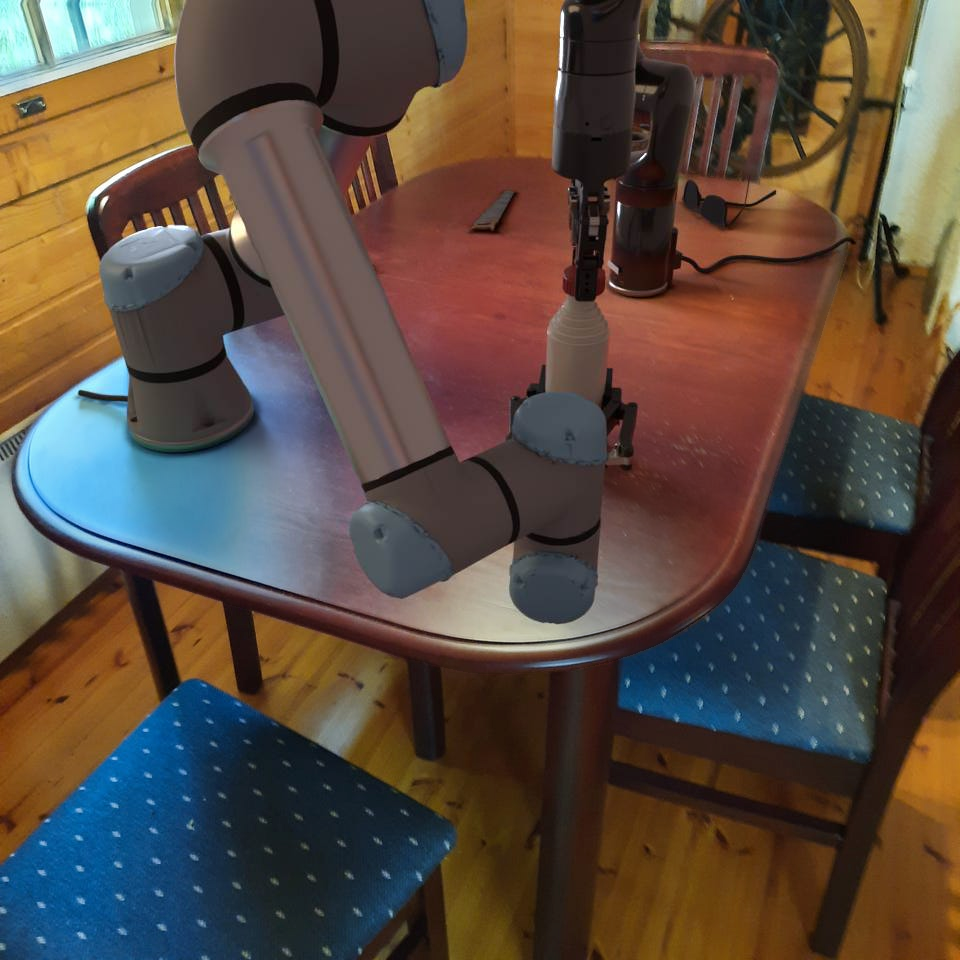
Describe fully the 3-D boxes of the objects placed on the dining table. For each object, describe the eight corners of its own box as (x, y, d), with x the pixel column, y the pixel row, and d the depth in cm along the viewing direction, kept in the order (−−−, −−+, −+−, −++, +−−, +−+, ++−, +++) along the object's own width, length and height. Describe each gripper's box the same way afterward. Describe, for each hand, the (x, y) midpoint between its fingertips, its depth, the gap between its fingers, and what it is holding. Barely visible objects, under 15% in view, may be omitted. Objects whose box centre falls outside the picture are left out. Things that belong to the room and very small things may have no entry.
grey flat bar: (493, 190, 178) (493, 187, 178) (515, 191, 177) (515, 188, 177) (468, 231, 159) (468, 228, 159) (493, 232, 158) (493, 229, 158)
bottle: (562, 467, 99) (571, 299, 86) (532, 437, 104) (536, 275, 91) (611, 450, 101) (627, 286, 89) (579, 423, 106) (590, 263, 94)
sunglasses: (787, 221, 160) (792, 194, 157) (718, 230, 157) (722, 203, 154) (740, 193, 173) (744, 168, 170) (675, 201, 170) (678, 176, 167)
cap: (609, 284, 92) (610, 266, 90) (598, 301, 88) (599, 283, 87) (569, 278, 93) (570, 261, 92) (557, 295, 90) (557, 277, 88)
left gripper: (465, 513, 88) (495, 398, 106) (661, 528, 85) (657, 407, 104) (463, 453, 83) (494, 344, 102) (669, 467, 81) (664, 352, 99)
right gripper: (549, 102, 86) (545, 264, 96) (557, 141, 75) (550, 320, 85) (624, 101, 86) (611, 263, 96) (643, 140, 75) (626, 320, 85)
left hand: (576, 376), depth 103 cm, fingers closed on bottle, 7 cm apart
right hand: (583, 289), depth 91 cm, fingers closed on cap, 4 cm apart
